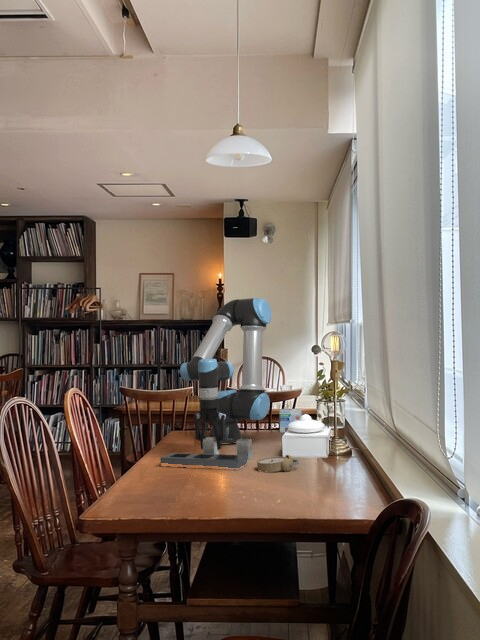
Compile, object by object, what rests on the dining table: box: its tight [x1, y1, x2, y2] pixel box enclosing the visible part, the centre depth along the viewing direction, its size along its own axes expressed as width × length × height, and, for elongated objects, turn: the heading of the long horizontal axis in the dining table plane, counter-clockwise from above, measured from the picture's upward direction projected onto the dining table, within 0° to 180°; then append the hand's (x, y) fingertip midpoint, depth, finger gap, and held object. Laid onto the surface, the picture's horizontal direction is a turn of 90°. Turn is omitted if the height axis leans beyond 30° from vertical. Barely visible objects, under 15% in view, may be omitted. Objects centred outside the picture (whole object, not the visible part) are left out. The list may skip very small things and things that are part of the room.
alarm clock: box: [255, 455, 299, 473], centre depth 223 cm, size 11×5×15 cm
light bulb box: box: [279, 408, 303, 434], centre depth 304 cm, size 11×7×11 cm, turn 80°
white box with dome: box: [281, 413, 332, 459], centre depth 250 cm, size 18×18×16 cm
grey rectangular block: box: [202, 436, 216, 454], centre depth 245 cm, size 4×4×8 cm
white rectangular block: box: [236, 438, 253, 460], centre depth 240 cm, size 4×4×8 cm
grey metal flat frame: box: [160, 452, 248, 468], centre depth 233 cm, size 10×31×4 cm, turn 70°
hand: (211, 457), depth 245 cm, fingers closed on grey rectangular block, 4 cm apart
